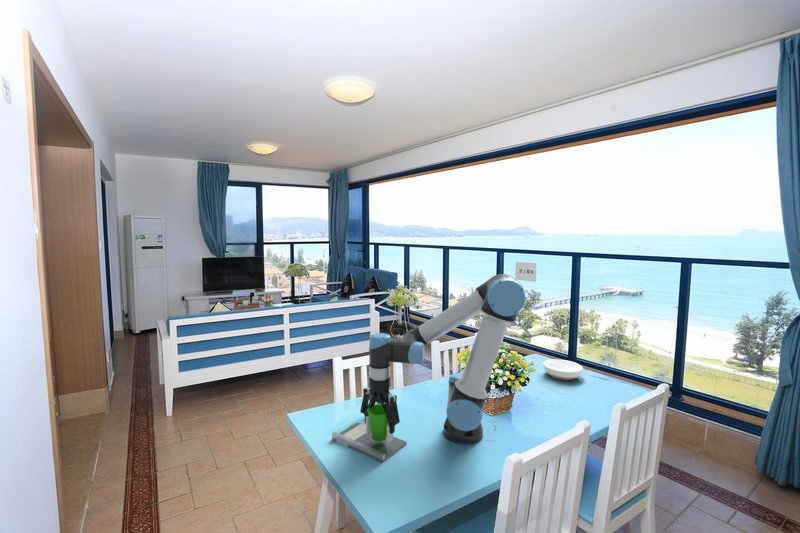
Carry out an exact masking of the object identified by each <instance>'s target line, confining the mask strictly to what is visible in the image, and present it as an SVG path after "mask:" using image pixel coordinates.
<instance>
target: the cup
mask: <svg viewBox="0 0 800 533" xmlns="http://www.w3.org/2000/svg"><path fill="white" fill-rule="evenodd" d="M367 411H368V414H369V420H370V426H371V433H372V438H373V440H375V441H378V442H381V441H384V440H385V439H386V437H387V425H388V424H389V423H388V420H387V417H386V415H387V414H385V412H384V409H383V407H382V406H381V404H377V403H375V405H374V407H373V408H371V409H370V408H369V407H368V409H367Z"/></svg>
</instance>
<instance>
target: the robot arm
mask: <svg viewBox="0 0 800 533" xmlns="http://www.w3.org/2000/svg"><path fill="white" fill-rule="evenodd" d="M525 303H526V292H525V289H524V287H523V285H522V284H521V283H520V282H519V281H518V280H517V279H516V278H515V277H513V276H512V275H509V274H506V273H499V274H495V275H493V276H491V277H490V278H489V279H488V280H485V282H483V283H482V284H480V285H478V286H477V287H476V288H475V289H474V292H473V293H471V294H469V295H468V296H466V297H465V298H463V299H462V300H460V301H458V302H456V303H454V304H453V305H452V306H450V307H448V308H446V309H445V310H443V311H442V312H440V313H439V314H437V315H435V316H433V317H432V318H430V319H429V320H427V321H426V322H424V323H422V324H420V325H418V326H417V327H415V328H414V329H410V330H408V331H406V333H405V334H404V335H403V338H402V339H401V340H393V339H392V338H391V335H390V334H388V333H384V332H377V333H373V334H371V336H369V337H370V338H369V346H368V353H369V354H368V355H369V356H368V357H369V359H368V362H369V364H368V365H369V366H368V368H369V370H368V376H369V378H368V381H369V383H368V385H369V386H366V387H365V388H363V389H362V393H363V396H362V400H361V405H360V414H363V416H364V425H366V434H369V433H371V426H370V420H369V414H368V411H367V409H368V407H369V408H370V409H371V408H373V407H374V405H375V404H377V402H378V403H380V404H381V406H382V407H383V409H384V412H385V414H387V415H386V417H387V420H388V423H389V424H388V425H387V443H389V442H391V441H392V440H393V437H394V433H395V432H396V427H395V426H397V425H398V424H399V423H400V421H401V420H400V415H399V408H398V404H397V400H398V395H393V394H392V395H390V394H391V392H390V389H391V388H390V387H391V363H399V364H411V365H416V364H417V365H421V364H423V362H424V361H425V360H424V359H425V346H426V347H427V345H429V344H430V343H432V342H433V341H434V342H435V341H436V340H437V339H439V338H441V337H443V336H444V335H446V334H448V333H449V332H451V331H452V330H455V329H456V328H457V327H459V326H461V325H462V324H465V323H466V322H467V321H469V320H471V319H473V318H474V317H477V316H478V315H480V314H482V319H481V322H480V325H479V326H478V327H479V328H478V330H477V333H476V336H475V339H474V342H473V344H472V348H471V350H470V352H469V356H468V359H467V361H466V365H465V368H464V370H463V372H456V373H453V374H451V375H449V377H448V394H447V395H448V396H447V397H448V398H447V406H446V417H445V421H444V423H443V428H442V429H443V431H442V433H443V435H444V436H445V438H447V439H448V440H450V441H452V442H455V443H459V444H473V443H477V442H480V440H482V439H483V436H484V428H483V425H482V420H483V409H484V407H485V404H486V402H487V399H488V398H487V397H488V392H487V391H486V387H487V384H488V382H489V380H490V377H491V374H492V370H493V368H494V365H495V362H496V361H497V356H498V354H499V351H500V349H501V346H502V343H503V340H504V338H505V335H506V332H507V329H508V327H509V326H510V325H511V324H513V323H515V321H516V319H517V316H518V313H519V312H520V311H521V310H522V309H523V307H524V306H525ZM370 394H371V399H370V400H369V397H370ZM388 398H389V399H388ZM384 402H386V403H384Z"/></svg>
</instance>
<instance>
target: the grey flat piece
mask: <svg viewBox="0 0 800 533" xmlns="http://www.w3.org/2000/svg"><path fill="white" fill-rule="evenodd" d="M331 434H332V435H331V440H332V441H334V442H336V443H338V444H341V445H343V446H345V447H347V448H349V449H352V450H354V451H356V452H358V453H360V454H362V455H365V456H367V457H369V458H372V459H374V460H375V461H377V462H380V463H381V464H382V463H384V462H385V461H387V460H388V459H389V458H391V457H392V456H394V455H395V454H397V452H399V451H400V450H401V449H403V448H404V447H405V446H407V441H405V440H403V439H401V438H397V437H395V436H393V440H392V441H391V442H389V443H387V437H386V439H385V440H384V441H381V442H378V441H375V440H373V438H372V433H369V434H366V424H363V423H361V422H359V421H358V422H355V423H354V424H352V425H351V426H349V427H348V428H346V429H344V430H342V431H340V432H337V431H334V432H332V433H331Z"/></svg>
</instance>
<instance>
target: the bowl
mask: <svg viewBox="0 0 800 533" xmlns="http://www.w3.org/2000/svg"><path fill="white" fill-rule="evenodd" d="M543 369H544V371H545V372H546V373H547V374H548V375H549V376H551V377H553V378H554V379H557V380H561V381H571V380H575V379H577V378H578V377H580V376H581V375H582V374H583V370H584V368H583V366H582V365H580V364H579V363H577V362H575V361H571V360H566V359H558V358H554V359H553V358H552V359H547V360H545V361H543Z"/></svg>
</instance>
